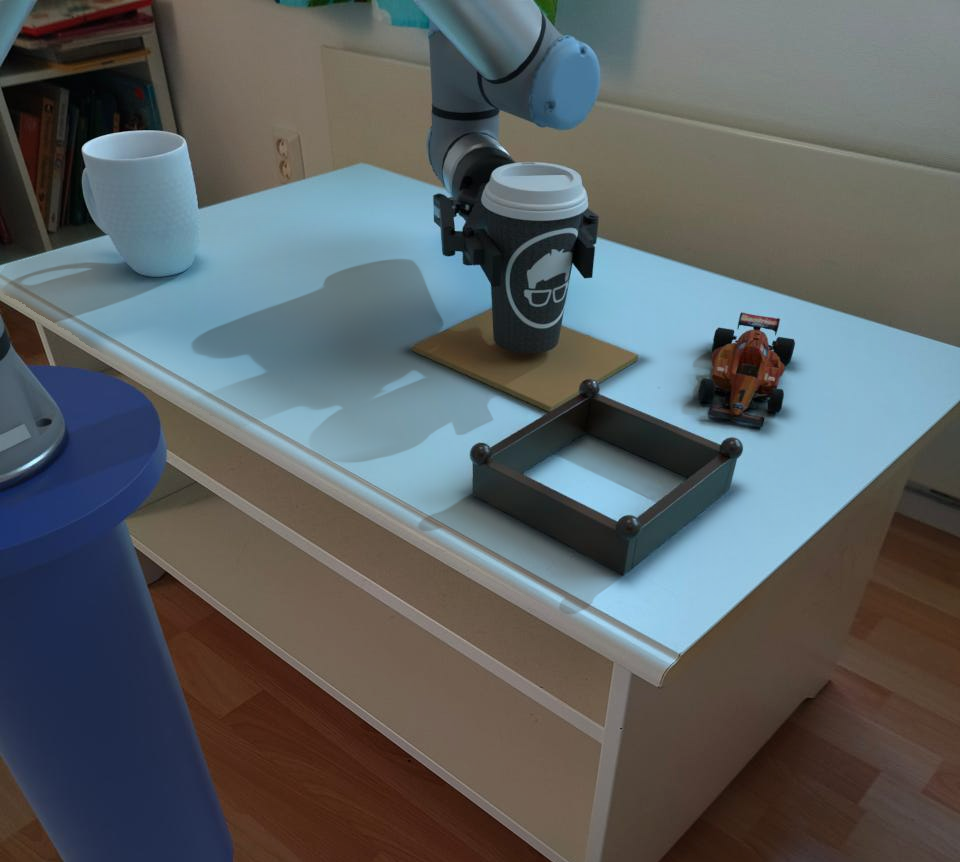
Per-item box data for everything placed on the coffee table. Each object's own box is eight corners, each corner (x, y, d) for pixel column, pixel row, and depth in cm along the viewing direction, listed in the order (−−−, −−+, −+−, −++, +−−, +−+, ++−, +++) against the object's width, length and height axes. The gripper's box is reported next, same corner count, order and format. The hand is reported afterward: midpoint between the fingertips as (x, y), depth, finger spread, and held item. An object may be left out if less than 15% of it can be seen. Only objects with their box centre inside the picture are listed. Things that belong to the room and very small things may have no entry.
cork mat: (411, 351, 90) (411, 345, 89) (502, 307, 97) (502, 302, 97) (550, 412, 81) (550, 406, 81) (638, 360, 89) (638, 354, 88)
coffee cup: (580, 324, 91) (597, 164, 80) (566, 367, 84) (582, 199, 74) (489, 313, 92) (494, 155, 82) (468, 354, 85) (470, 187, 75)
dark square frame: (465, 495, 72) (464, 444, 68) (583, 421, 80) (588, 372, 77) (625, 580, 64) (633, 528, 61) (737, 488, 73) (749, 438, 69)
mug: (69, 267, 104) (31, 145, 95) (135, 237, 111) (105, 120, 102) (168, 292, 100) (137, 165, 90) (230, 258, 107) (207, 138, 97)
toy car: (690, 418, 81) (698, 373, 78) (714, 340, 92) (723, 299, 89) (777, 432, 79) (789, 388, 76) (791, 351, 90) (802, 310, 87)
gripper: (575, 214, 99) (647, 298, 83) (391, 228, 95) (430, 318, 79) (580, 139, 93) (659, 213, 78) (386, 151, 90) (427, 232, 74)
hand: (543, 266), depth 78 cm, fingers closed on coffee cup, 8 cm apart
